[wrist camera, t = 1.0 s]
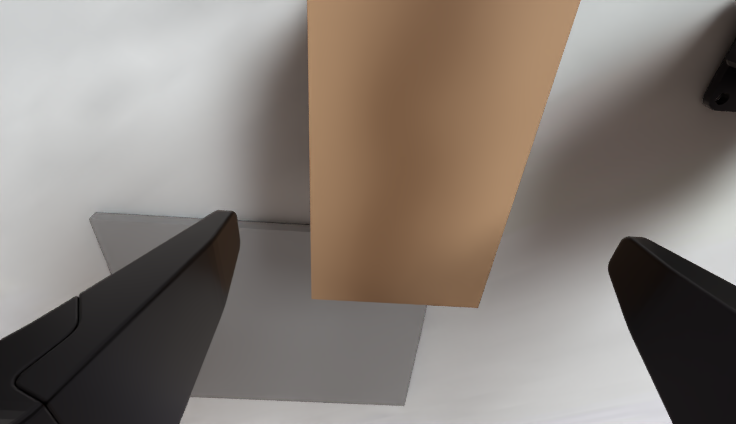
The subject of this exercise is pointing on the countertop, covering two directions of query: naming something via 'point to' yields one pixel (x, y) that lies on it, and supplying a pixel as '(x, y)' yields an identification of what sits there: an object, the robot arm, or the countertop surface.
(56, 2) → the countertop surface
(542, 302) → the countertop surface
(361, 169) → the stool
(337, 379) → the mat
